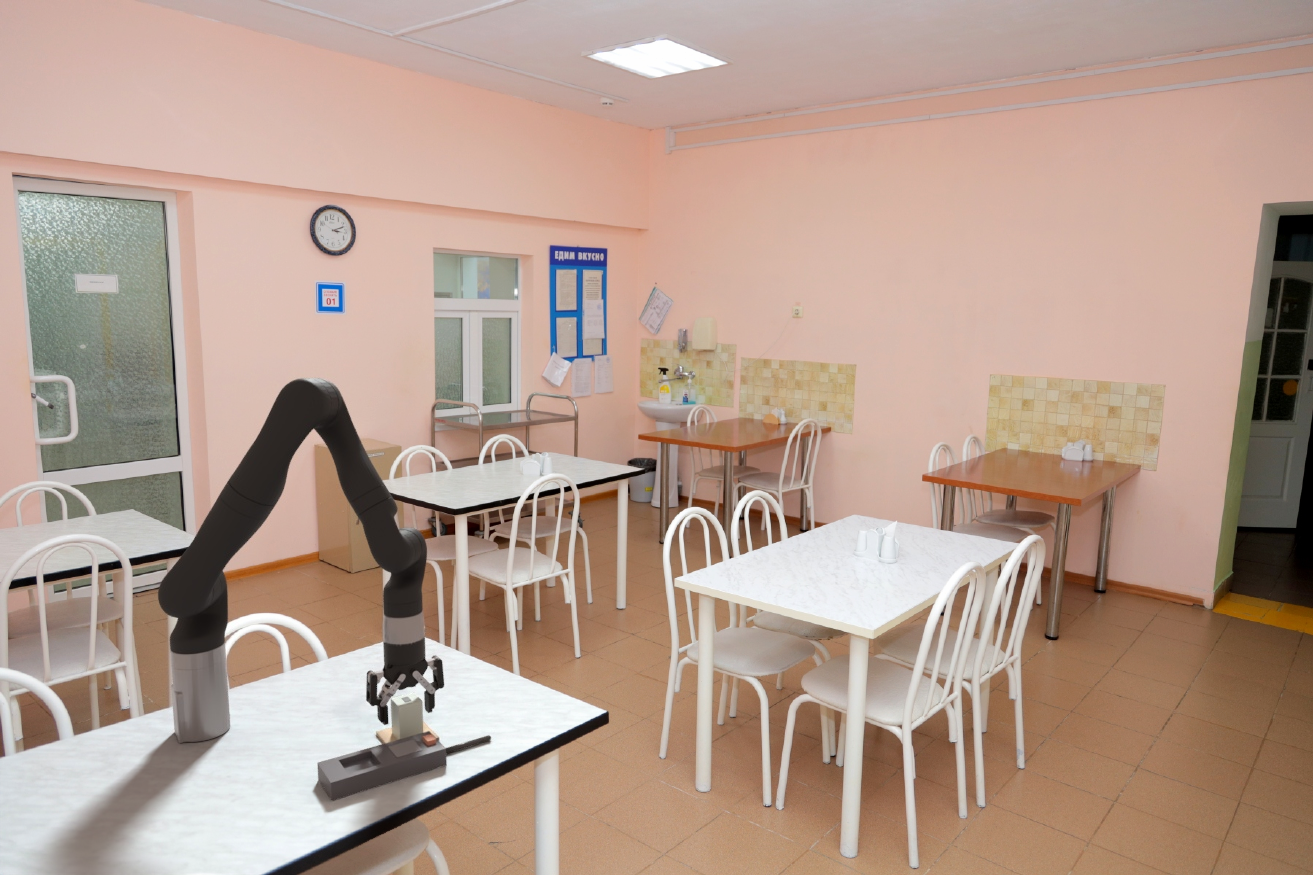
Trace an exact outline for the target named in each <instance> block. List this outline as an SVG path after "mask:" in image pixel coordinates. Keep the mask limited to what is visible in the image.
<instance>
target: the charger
mask: <svg viewBox="0 0 1313 875" xmlns="http://www.w3.org/2000/svg"><path fill="white" fill-rule="evenodd" d="M423 710H424V709H423V700H422V699H421V698H420V697H419V696H418V695H417V694H416V693H415V692H411V693H406V694H403V695H398V696H395V697H394V696H393V697H391V698H390V711H391V713H390V714H391V719H390V720H391V728H392V734H393V735H394V736H395V737H396V738H397V739H398V740H399V739H402V738H406V737H410V736H413V735H417V734H420V733H423V721H424V714H423Z"/></svg>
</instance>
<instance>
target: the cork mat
mask: <svg viewBox="0 0 1313 875" xmlns="http://www.w3.org/2000/svg"><path fill="white" fill-rule="evenodd" d="M427 731H430V732H431V733H432V734H433V735H434V736H435V737H436V738H437V739H438V740H439V741H440V736H439V735H438V734H437V733H436V732H435V731H434V730H433V729H432V728H431V727H430V726H429V725H428V724H427V723H426V721H424V720H423V733H424V732H427ZM375 733H376V734H375V735H376V737H377V738H378V739H379V740H380V741H381V743H382V744H385V743H388V742H392V741H395V740H398V739H397V738H396V737H395V736H394V735H393V734H392V727H389V728H385V729H382V730H379V731H375Z"/></svg>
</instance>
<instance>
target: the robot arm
mask: <svg viewBox="0 0 1313 875" xmlns="http://www.w3.org/2000/svg"><path fill="white" fill-rule="evenodd" d="M313 430H314V431H315V432H316V433H317V434H318V435H319V438H321V439H322V441H323V442H324V444H325V445H326V448H327V449H328V451H329V453H330V454H331V457H332V460H333V463H334V465H335V469H336V474H337V477H338V481H339V484H340V486H341V487H340V488H341V489H342V492H343V494H344V496H345V498H346V500H347V502H348V503H349V505H350V506H351V508H352V510H353V512H354V513H355V514H356V516H357V518H358V519H359V522H360V523H361V525H362V528H363V532H364V536H365V539H366V541H367V545H368V548H369V551H370V553H371V556H372V558H373V559H374V561H375V563H376V564H377V565H378V566H379V567H380V568H381V569H383V570H384V571H386V572H387V573H390V577H389V580H388V581H387V582H386V583H385V585H384V587H383V592H382V603H383V617H382V618H383V620H382V641H383V643H382V645H383V664H384V665H383V668H382V670H376V671H373V670H371V669H369V670H368V671H367V673H366V683H365V684H366V686H365V688H366V689H365V691H366V692H365V693H366V694H365V695H366V696H365V698H366V699H365V700H366V702H368V703H369V705H370V706H371V707H375V706H376V709H377V710H376V711H377V720H378V721H379V722H380V723H381V724H382V725H384V726H385V725H389V706H388V705H387V704H388V703H389V701H390V700H391V698H393V697H394V695H395V694H396V692H397V691H398V690H399V691H403V690H405V689H408V688H414V687H415V688H416V686H417V685H418V684H420V685H421V686H422V687H423V689H425V691H423V693H424V694H423V695H424V697H423V698H424V701H423V702H424V710H425V711H426V712H427V713H428V714H429V713H432V712H433V709H435V707H436V697H435V694H436V691H437V690H439V689H443V688H444V687H445V678H444V664H443V660H442V659H441V658H440V657H439V656H437V655H435V654H434V655H432V656H431V658H429V659H426V634H425V633H426V626H425V617H424V610H423V609H424V608H423V606H424V605H423V604H424V603H423V590H422V589H423V582H424V579H425V574H426V566H427V558H428V546H427V543H426V539H425V537H424V535H423V534H422V532H421V531H420V530H418V529H416V528H414V527H409V526H407V527H406V526H405V527H402V528H399V527H398V524H397V522H396V519H395V516H396V515H397V513H398V504H397V503H396V501H395V499H394V498H393V496H392V495H391V493H390V491H389V489H388V488H387V486H386V484H385V482H384V481H383V479H382V477H381V476H380V474H379V472H378V471H377V470H376V468H375V466H374V464H373V462H372V461H371V459H370V456H369V455H368V453H367V450H366V449H365V447H364V445H363V442H362V440H361V438H360V436H359V434H358V431H357V429H356V427H355V425H354V422H353V421H352V417H351V414H350V413H349V410H348V408H347V405H346V402H345V400H344V397H343V394H342V393H341V391H340V389H339V387H337V386H336V385H335V383H333V382H331V381H330V380H328V379H325V378H320V377H304V378H303V377H301V378H296V379H294V380H291V381H289V382H288V383H286V384H285V385H284V386H283V387H282V389H281V390H280V392H278V395H277V397H276V399H275V400H274V402H273V404H272V407H271V408H270V411H269V412H268V415H267V417H266V419H265V421H264V423H263V425H262V427H261V429H260V431H259V432H258V435H257V436H256V438H255V440H254V441H253V443H251V446H250V447H249V448H248V449H247V452H246V453H245V455H244V456H243V457H242V459H241V461H240V462H239V464H238V465H237V467H236V469H235V470H234V471H233V473H232V474H231V475H230V477H229V478H228V480H227V482H226V484H225V485H224V487H223V488H222V490H221V491H220V493H219V494H218V497H217V499H216V501H215V502H214V504H213V505H212V507H211V508H210V510H209V512H208V513H207V515H206V516H205V518H204V520H203V521H202V523H201V525H200V527H199V529H198V531H197V533H196V535H195V536H194V539H193V540H192V541H191V543H190V545H188V547H187V548H186V550H185V551H184V552H183V554H182V555H181V556H180V557H179V559H177V561H176V562H175V564H174V565H173V566H172V567H171V569H170V570H169V571H168V572H167V573H166V574H165V576H164V577H163V578H162V580H161V581H160V584H159V587H158V592H157V600H158V604H159V606H160V608H161V609H162V611H163V612H164V613H165V614H166V615H167V616H169V617H172V618H175V619H176V618H177V621H176V624H175V625H174V627H173V629H172V631H171V633H170V636H169V650H170V662H171V663H170V664H171V675H172V676H171V677H172V680H171V681H172V683H171V687H170V688H171V698H172V700H171V701H172V713H173V726H174V733H175V736H176V738H177V741H178V742H177V743H178V744H181V743H186V742H187V743H188V742H194V743H195V742H203V741H208V740H212V739H214V738H217V737H219V736H221V735H223V734H225V733H226V732H227V731H229V729H230V728H231V712H230V700H229V698H230V697H229V685H228V684H229V682H228V668H227V667H228V666H227V665H228V664H227V654H226V631H227V627H228V624H229V623H228V622H229V603H228V602H229V600H228V599H229V598H228V597H229V595H228V594H229V593H228V591H229V590H228V582H227V577H226V574H225V572H224V569H225V568H226V566H227V564H228V563H229V562H230V560H231V559H232V558H233V557H234V556H235V555H236V554H238V552H239V551H240V550H241V549H242V548H243V547H244V545H245V544H247V542H249V540H250V539H251V538H252V537H253V536H254V535H255V534H256V532H257V531H258V530H260V528H261V527H262V526H263V524H264V523H265V521H266V520H267V519H268V517H270V514H271V513H272V511H273V509H275V507H276V505H277V504H278V502H279V501H280V498H281V496H282V495H283V492H284V489H285V486H286V482H287V478H288V473H289V469H290V465H291V463H292V459H293V458H294V455H295V454H296V452H297V451H298V449H299V448H300V447H301V445H302V444H303V442H304V441H305V439H306V438H307V437H308V436H309V435H310V433H311V432H312V431H313ZM428 668H429V669H431V670H432V680H433V681H432V682H429V681H428V680H427V679H426V678H425V677H424V675H425V673H426V671H427V669H428ZM382 678H384V679H385V681H384V682H383V684H382V686H381V690H380V691H379V693H378V685H379V684H380V683H381V679H382Z"/></svg>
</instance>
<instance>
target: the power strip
mask: <svg viewBox="0 0 1313 875" xmlns="http://www.w3.org/2000/svg"><path fill="white" fill-rule="evenodd" d="M491 739H492V736H491V735H484V736H481V737H478V738H476V739H471V740H469V741H468V740H467V741H465V742H461V743H459V744H455V745H451V746H447V747H446V746H445V745H444V744H442V743H441V742H440V739H439V740H438V739H437V738H436V737H435V736H434V735H433V734H432V733H431V732H430V731H427V732H424V733H420V734H417V735H413V736H410V737H406V738H402V739H399V740H395V741H392V742H388V743H385V744H384V743H382V744H378V745H375V746H372V747H368V748H364V749H360V750H357V751H354V752H351V753H350V752H349V753H346V754H343V755H340V756H339V755H338V756H337V757H333V758H329V759H325V760H321V761H318V762H317V780H318V782H319V783H320V785H321V787H322V788H323V790H324V791H325V793H326V794H327V796H328V797H329V799H330V801H331V802H332V801H337V800H340V799H342V798H345V797H349V796H352V795H355V794H359V793H362V792H364V791H365V792H366V791H368V790H371V789H374V788H377V787H382V786H383V785H387V784H391V783H394V782H397V781H400V780H403V779H406V778H410V777H412V776H417V775H419V774H422V773H427V772H429V771H432V770H435V769H436V770H437V769H438V768H441V767H444V766H445V767H446V766H447V764H448V763H447V754H450V753H454V752H457V751H460V750H464V749H466V748H470V747H473V746H477V745H480V744H483V743H487V742H490V741H491Z"/></svg>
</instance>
